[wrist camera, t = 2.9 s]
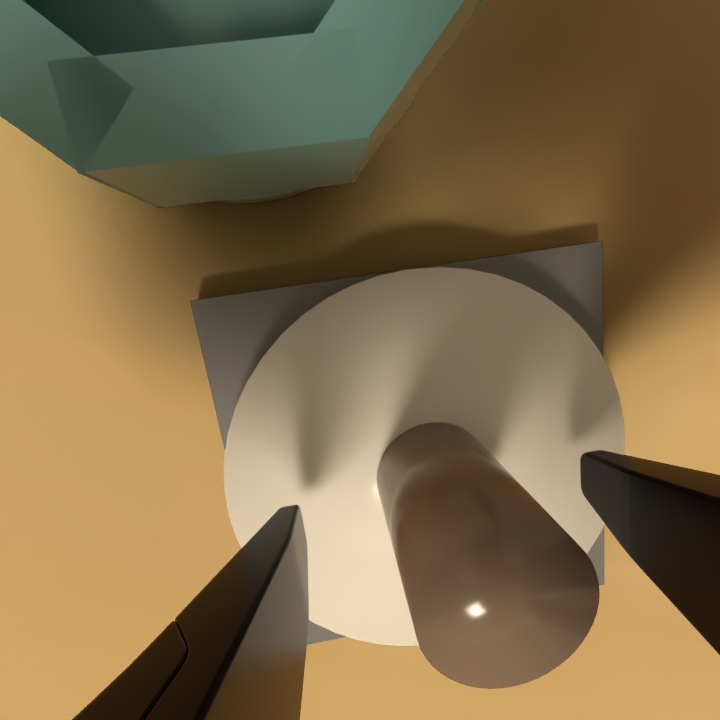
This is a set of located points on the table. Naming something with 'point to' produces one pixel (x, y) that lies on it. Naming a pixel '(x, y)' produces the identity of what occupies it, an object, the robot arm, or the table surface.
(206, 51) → the bowl
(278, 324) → the mat
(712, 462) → the table surface
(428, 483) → the lid
